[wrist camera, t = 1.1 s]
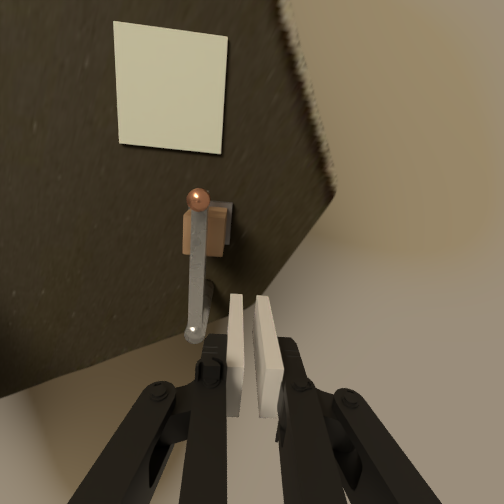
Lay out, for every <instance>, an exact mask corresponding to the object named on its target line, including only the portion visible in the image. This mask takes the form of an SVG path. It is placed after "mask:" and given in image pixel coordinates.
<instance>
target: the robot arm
mask: <svg viewBox="0 0 504 504" xmlns="http://www.w3.org/2000/svg"><path fill="white" fill-rule="evenodd" d="M252 332H253V344H254V356H255V370H256V382H257V395H258V407H259V417H260V418H276V415H277V411H278V416H279V421H278V428H277V433H276V440H275V442H278V441H279V452H280V464H281V475H282V486H283V496H284V504H347V501H346V497H345V493H344V490H345V492H346V494H347V496H348V499H349V501H350V503H351V504H442V503H441V502H440V500H439V499H438V498H437V496H436V495H435V494H434V492H433V491H432V490H431V488H430V487H429V486H428V484H427V483H426V482H425V480H424V479H423V478H422V476H421V475H420V474H419V472H418V471H417V470H416V468H415V467H414V465H413V464H412V463H411V461H410V460H409V459H408V457H407V456H406V455H405V453H404V452H403V451H402V449H401V448H400V447H399V445H398V444H397V443H396V441H395V440H394V439H393V437H392V436H391V435H390V433H389V432H388V430H387V429H386V428H385V426H384V425H383V424H382V422H381V421H380V420H379V419H378V417H377V416H376V414H375V413H374V412H373V411H372V409H371V408H370V406H369V405H368V404H367V402H366V401H365V400H364V398H363V397H362V396H361V395H360V394H358V393H357V392H355V391H354V390H351V389H347V388H341V389H338V390H337V391H336V392H335V393H334V395H333V394H330V393H327V392H324V391H321V390H319V389H317V388H315V386H314V384H313V382H312V381H311V380H310V379H309V378H307V375H306V372H305V369H304V366H303V363H302V359H301V357H300V353H299V350H298V347H297V344H296V343H295V341H294V340H293V339H292V338H289V337H277V334H276V330H275V325H274V320H273V316H272V311H271V307H270V302H269V297H268V296H258V295H257V297H256V306H255V314H254V323H253V331H252ZM243 374H244V337H243V297H242V294H231V295H230V308H229V320H228V332H227V335H225V334H209V335H208V336H207V337H206V338H205V340H204V345H203V350H202V356H201V359H200V360H199V361H197V364H196V368H195V380H194V381H192V382H191V383H189V384H188V385H185V386H182V387H177V388H175V387H174V385H173V384H172V383H169V382H167V381H159V382H154V383H152V384H150V385H148V386H147V387H146V388H145V389H144V390H143V392H142V393H141V395H140V396H139V398H138V399H137V400H136V402H135V403H134V405H133V406H132V408H131V410H130V411H129V413H128V414H127V416H126V417H125V419H124V420H123V421H122V423H121V424H120V426H119V427H118V429H117V431H116V432H115V434H114V435H113V436H112V438H111V439H110V441H109V442H108V444H107V445H106V447H105V448H104V450H103V451H102V453H101V455H100V456H99V457H98V459H97V460H96V462H95V463H94V465H93V466H92V468H91V469H90V471H89V472H88V474H87V475H86V477H85V478H84V480H83V481H82V482H81V484H80V485H79V487H78V489H77V490H76V492H75V493H74V495H73V496H72V498H71V499H70V500H69V502H68V504H149V503H150V501H151V499H152V496H153V494H154V491H155V489H156V487H157V484H158V482H159V480H160V477H161V475H162V473H163V470H164V468H165V466H166V463H167V461H168V459H169V456H170V454H171V452H172V449H173V447H174V444H175V443H177V442H181V441H184V440H187V446H186V453H185V460H184V468H183V476H182V483H181V491H180V498H179V504H227V426H226V425H227V424H226V422H227V420H226V417H239V411H240V402H241V393H242V384H243ZM343 488H344V490H343Z"/></svg>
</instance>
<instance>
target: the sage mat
mask: <svg viewBox="0 0 504 504" xmlns="http://www.w3.org/2000/svg"><path fill="white" fill-rule="evenodd" d="M113 25H114V45H115V66H116V86H117V107H118V127H119V143H121V144H131V145H140V146H149V147H159V148H168V149H178V150H187V151H197V152H206V153H216V154H221V145H222V129H223V112H224V96H225V79H226V62H227V46H228V37H226V36H218V35H211V34H204V33H197V32H189V31H182V30H175V29H168V28H160V27H153V26H146V25H139V24H131V23H124V22H117V21H113Z"/></svg>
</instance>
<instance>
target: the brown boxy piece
mask: <svg viewBox="0 0 504 504" xmlns="http://www.w3.org/2000/svg"><path fill="white" fill-rule="evenodd" d="M232 204H233V203H231V202H220V201H210V204H209V213H208V233H207V253H206V256H216V257H222V255H223V250H224V244H226V245H229V243H230V230H231V217H232ZM190 241H191V208H190V207H189V210H188V211H187V212H186V213H185V214H184V215H183V254H190Z"/></svg>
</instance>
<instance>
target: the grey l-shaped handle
mask: <svg viewBox="0 0 504 504" xmlns="http://www.w3.org/2000/svg"><path fill="white" fill-rule="evenodd" d="M209 193H210V191H206V190H205V189H203V188H196V189H194V190H192V191H191V192H189V194H188V196H187V204H188V206H189V207H190V208H191V241H190V274H189V307H188V324H187V327H186V330H185V333H184V336H185V339H186V340H187V341H188V342H190V343H192V344H197V343H200V342H202V341H203V339H204V336H205V331H206V326H207V321H208V316H209V311H210V305H211V300H212V295H213V290H214V283H213V281H211V280H209V279H205V274H206V253H207V233H208V213H209V204H210V201H211V198H210V194H209Z"/></svg>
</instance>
